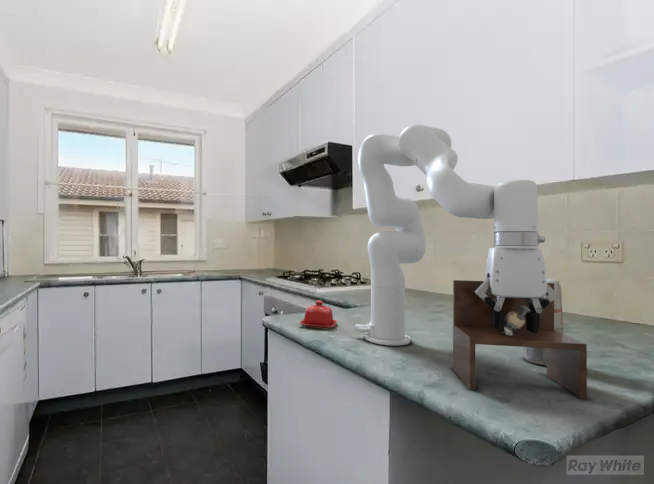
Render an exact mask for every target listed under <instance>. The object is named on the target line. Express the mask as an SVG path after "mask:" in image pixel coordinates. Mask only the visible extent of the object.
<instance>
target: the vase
mask: <svg viewBox="0 0 654 484" xmlns="http://www.w3.org/2000/svg"><path fill="white" fill-rule="evenodd" d="M503 307H504V306H503ZM529 312H531V310H530V309H529V308H528V307H526V306H524V305H518V310H517V311H516V312H515V311H513V312H509V313H508V314H507V315H506V316H505V320H504V322H505V326H504V331H503V332H501V331H500V333H506V335H514V334H513V330H518V329H520V328H522V327H523V325H524V324H525V318H524V315H525V314H526V313H529ZM497 331H498V330H497ZM514 332H515V331H514Z"/></svg>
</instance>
